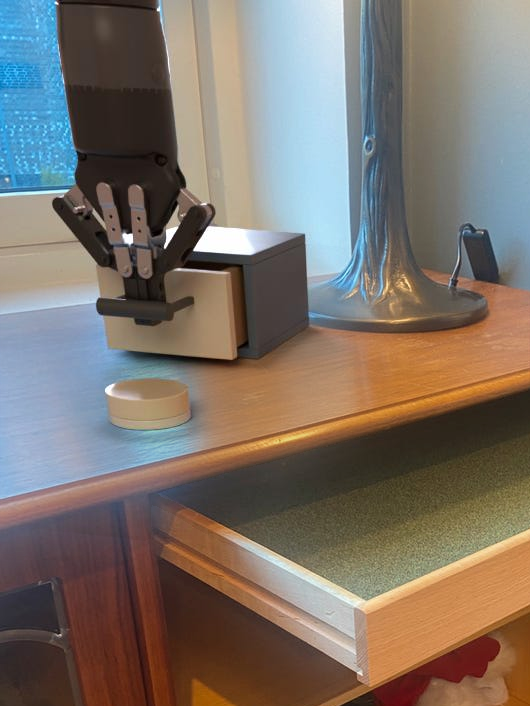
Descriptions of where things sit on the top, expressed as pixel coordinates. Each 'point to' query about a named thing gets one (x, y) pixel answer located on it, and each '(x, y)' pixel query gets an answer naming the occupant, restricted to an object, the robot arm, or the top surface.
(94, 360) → the top surface
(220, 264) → the drawer
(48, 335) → the top surface
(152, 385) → the cream short cylinder
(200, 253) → the cabinet
